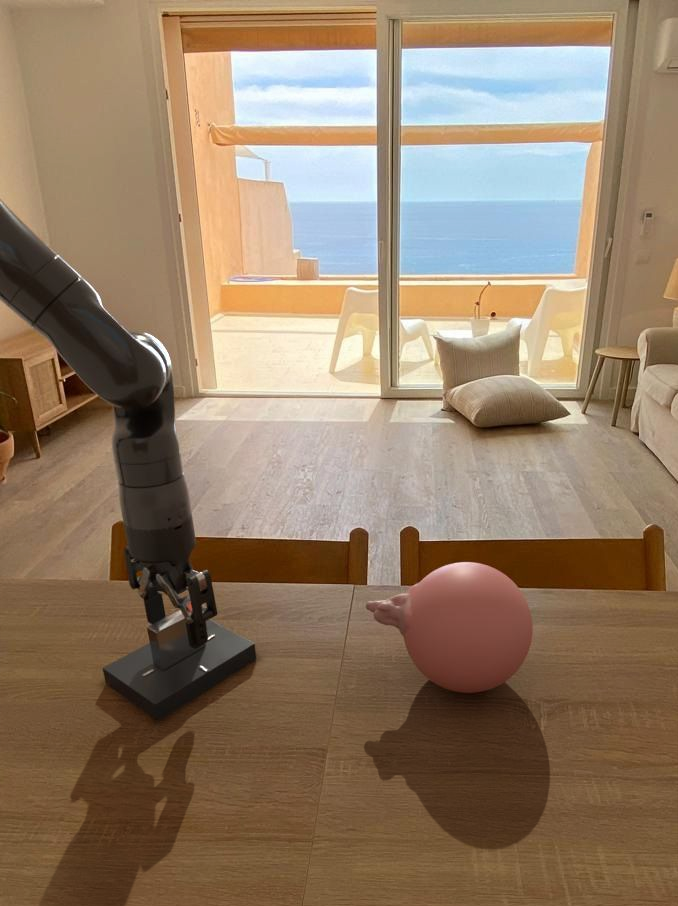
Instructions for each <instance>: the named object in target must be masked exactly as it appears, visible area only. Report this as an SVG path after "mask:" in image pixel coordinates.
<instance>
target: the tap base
mask: <svg viewBox="0 0 678 906" xmlns="http://www.w3.org/2000/svg"><path fill="white" fill-rule="evenodd" d="M206 627H207V634H208V641H207V642H206V646H205V647H203V648H201V649H200V650H198V651H196V652H194V653H193V654H191V655H189V656H187V657H186V658H184V659H182V660H180V661H179V662H177V663H175V664H174V665H172V666H170V667H168V668H167V669H165V670H162V669H160V668H158V667H157V666H155V665H154V664H153V658H152V653H151V647H150V642H149V643H147V644H145V645H143V646H141V647H140V648H137V649H136V650H135V649H134V650H133V651H131V652H130V653H128V654H126V655H123V656H122V657H120V658H119V659H116V660H115V661H113V662H111V663H109V664H107V665H105V666H103V667H102V672H103V677H104V682H105V685H106V686H108V687H109V688H110V689H111V690H113V691H114V692H116V693H118V694H119V695H120V696H122V697H123V698H124V699H126V700H127V701H128V702H130V703H131V704H133V705H134V706H136V707H137V708H139V709H140V710H141V711H143V712H144V713H145V714H147V715H149V716H150V717H151V718H152V719H154V720H155V721H157V722H160V721H162V720H163V719H165V718H166V717H168V716H169V715H171V714H173V713H174V712H176V711H177V710H179V709H180V708H181V707H184V706H185V705H186V704H189V703H190V702H191V701H193V700H194V699H196V698H198V697H199V696H201V695H203V694H204V693H206V692H207V691H209V690H210V689H212V688H213V687H215V686H217V685H218V684H220V683H221V682H223V681H224V680H227V679H228V678H230V677H231V676H233V675H234V674H236V673H237V672H239V671H241V670H242V669H244V668H245V667H247V666H248V665H250V664H252V663H253V662H255V661H256V660H257V651H256V644H255V642H253V641H251V640H249V639H247V638H245V637H243V636H242V635H241V634H240V635H239V634H238V633H236V632H234V631H232V630H230V629H228V628H227V627H224V626H222V625H220V624H218V623H217V622H215V621H213V620H211V619H209V620H207V621H206Z"/></svg>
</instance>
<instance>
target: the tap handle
mask: <svg viewBox="0 0 678 906" xmlns="http://www.w3.org/2000/svg"><path fill="white" fill-rule="evenodd" d="M187 605H188V607H189V609H190V611H191V612H192V606H191V603H189V604H187ZM146 630H147V635H148V636H147V637H148V640H149V641H148V642H149V643H150V647H151V653H152V658H153V664H154V665H155V666H157V667H158V668H160V669H162V670H165V669H167V668H168V667H170V666H172V665H174V664H175V663H177V662H179V661H180V660H182V659H184V658H186V657H187V656H189V655H191V654H193V653H194V652H196V651H198V650H200V649H201V648H203V647H205V646H206V643H205V644H203V645H202V646H200V647H198V648H196V649H194V648H192V647H190V646H189V641H188V635H187V628H186V619H185V618H184V616H183V614H182V612H181V610H180V609H178V611H175V612H173V613H172V614H169V615H167V616H165V618H164V619H162V620H160V621H158V622H156V623H154V624H150V625H147V626H146Z"/></svg>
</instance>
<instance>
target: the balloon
mask: <svg viewBox="0 0 678 906" xmlns="http://www.w3.org/2000/svg"><path fill="white" fill-rule="evenodd" d="M365 609H366V610H368V611H370V612H371V613H373V618H374V620H375V621H376V622H377V623H379V624H381V625H384V626H390V627H391V626H392V627H395V628H396V629H398V630H399V632H400V635H401V636H402V637H403V641H404V645H405V648H406V651H407V653H408V656H409V658H410V659H411V661H412V662H413V664H414V666H415V667H416V668H417V669H418V671H419V672H420V673H421V674H422V675H423V676H424V677H425V678H427V679H428V680H429V681H431V682H432V683H433V684H435V685H437V686H439V687H440V688H443V689H445V690H449V691H452V692H457V693H462V694H475V693H481V692H486V691H490V690H492V689H495V688H496V687H499V686H501V685H502V684H504V683H505V682H507V681H508V680H509V679H511V678H512V677H513V676H514V675H515V674H516V673H517V671H518V670H520V668H521V666H522V665H523V663H524V662H525V661H526V658H527V656H528V654H529V651H530V648H531V645H532V641H533V627H534V626H533V617H532V613H531V608H530V606H529V604H528V601H527V599H526V597H525V595H524V594H523V591H521V589H520V588H519V587H518V585H517V584H516V583H515V582H514V581H513V580H512V579H511V578H509V577H508V576H507V575H506V574H505V573H504V572H502V571H500V570H498V569H497V568H494V567H492V566H490V565H486V564H484V563H479V562H473V561H472V562H471V561H461V562H454V563H449V564H445V565H444V566H441V567H438V568H436V569H434V570H433V571H432V572H430V573H429V574H427V575H426V576H425V577H424V578H422V579H421V580H420V581H419V582H417V583H416V584H414V585H411V586H410V587H409V588H408V590H407V592H406V593H398V594H396V595H394V596H391V597H389V598H387V599H383V600H374V601H373V600H369V601H367V602H366V603H365Z"/></svg>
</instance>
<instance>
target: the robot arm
mask: <svg viewBox="0 0 678 906" xmlns="http://www.w3.org/2000/svg"><path fill="white" fill-rule="evenodd" d="M0 302H1V303H2V304H4V305H5V306H6V307H7V308H9V309H10V310H11V311H12V312H13V313H14V314H15V315H16V316H18V317H19V318H20V319H21V320H22V321H24V322H25V323H26V324H27V325H28V326H29V327H30V328H32V329H33V330H34V331H35V332H37V333H38V334H39V335H41V336H42V337H43V338H44V339H46V341H48V342H49V344H51V346H52V347H53V348H54V349H55V351H56V352H57V354H58V355H59V356H60V357H61V359H62V360H63V361H64V362H65V363H66V364H67V366H68V367H69V368H70V369H71V370H72V371H73V372H74V373H75V375H76V376H78V378H79V379H80V380H81V381H82V382H83V383H84V384H85V386H87V387H88V388H89V390H91V391H92V392H93V393H94V394H95V395H97V396H98V397H99V398H100V399H102V400H103V401H104V402H106V403H108V404H109V405H111V406H112V411H113V412H112V413H113V418H114V427H113V431H112V435H111V436H112V437H111V450H112V457H113V462H114V468H115V472H116V473H115V474H116V480H117V484H118V501H119V507H120V512H121V517H122V523H123V528H124V532H125V538H126V543H127V546H125V547H124V548H123V553H124V559H125V564H126V571H127V577H128V584H129V586H130V588H131V589H132V590H136V589H137V590H138V596H139V597H140V598H141V599H143V604H144V605H143V606H144V609H145V616H146V621H147V622H148V623H149V624H150V625H152V624H154V623H156V622H158V621H160V620H162V619H164V618H165V617H167V616H166V611H165V610H166V609H165V603H164V597H163V593H164V594H165V595H166V597H168V599H169V600H170V602H171V604H172V606H173V608H175V609H178V610H181V612H182V614H183V616H184V618H185V619H186V628H187V635H188V641H189V646H190V647H192V648H194V649H196V648H198V647H200V646H202V645H203V644H205V643H206V642H207V641H208V634H207V627H206V621H207V620H211V619H212V618H215V617H216V616H218V608H217V603H216V598H215V592H214V586H213V581H212V576H211V575H212V574H211V572H210V571H209V570H208V569H204V570H201V571H197V570H194V567H193V565H192V562H191V559H190V556H191V553H192V552H193V550H194V549H195V548H196V545H197V539H196V532H195V526H194V525H195V524H194V520H193V518H194V517H193V512H192V506H191V499H190V492H189V488H188V484H187V481H186V478H185V473H184V466H183V461H182V454H181V453H182V452H181V448H180V442H179V438H178V433H177V427H176V405H175V404H176V403H175V385H174V374H173V373H174V372H173V366H172V362H171V358H170V355H169V353H168V351H167V349H166V348H165V346H164V344H163V343H162V342H161V341H160V340H159V339H158V338H156V337H155V336H153V335H152V334H150V333H148V332H144V331H140V330H130V331H127V330H126V329H125V328H124V327H123V326H122V325H121V323H119V322H118V321H117V320H116V319H115V318H114V317H113V316H112V315H111V314H110V313H109V312H108V311H107V310H106V309H105V308H104V306H103V303H102V299H101V297H100V295H99V293H98V292H97V291H96V290H95V288H93V286H92V285H91V284H90V283H89V282H88V280H86V279H85V278H84V277H82V276H81V275H80V274H79V272H78V271H76V269H74V268H73V267H72V266H71V265H69V263H68V262H66V261H65V259H63V258H62V257H61V256H60V255H59V254H58V253H57V252H56V251H54V249H52V247H50V246H49V245H48V244H47V243H45V241H44V240H43V239H42V238H40V237H39V236H38V235H37V233H35V232H34V230H32V229H31V228H30V227H29V226H28V225H27V224H26V223H25V222H23V220H22V219H21V218H20V217H19V216H18V215H17V214H16V213H14V211H13V210H12V209H11V208H10V207H9V206H8V205H7V204H6V203H5V202H4V201H3V200H2V199H1V198H0ZM140 571H141V573H142V574H141V575H140V576H138V575H137V574H138V572H140ZM186 591H188V594H187V595H185V596H183V597H180V596H179V595H181V594H182V593H185V592H186ZM188 603H190V604H191V606H192V612H191V611H190V609H189V607H188V605H189V604H188Z"/></svg>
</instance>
